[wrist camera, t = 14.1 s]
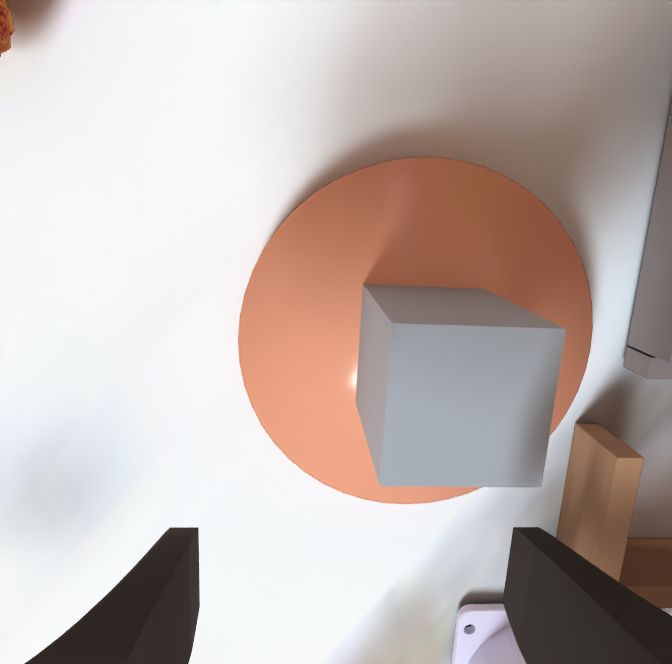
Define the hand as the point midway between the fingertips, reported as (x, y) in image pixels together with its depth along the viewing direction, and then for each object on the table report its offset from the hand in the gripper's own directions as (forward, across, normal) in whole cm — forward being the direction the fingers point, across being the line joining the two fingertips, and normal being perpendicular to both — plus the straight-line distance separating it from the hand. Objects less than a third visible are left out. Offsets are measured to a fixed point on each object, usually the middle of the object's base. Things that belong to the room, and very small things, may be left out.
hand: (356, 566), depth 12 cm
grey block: (+8, -3, -3) cm, 9 cm away
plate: (+9, -3, -3) cm, 10 cm away
